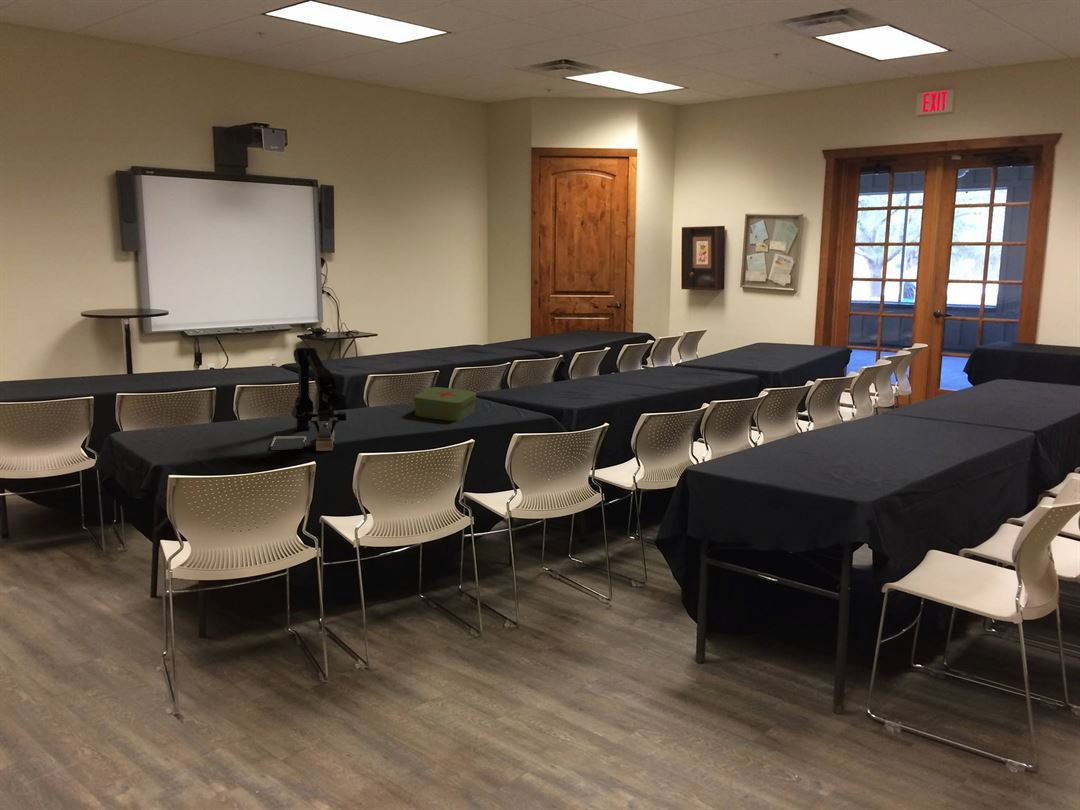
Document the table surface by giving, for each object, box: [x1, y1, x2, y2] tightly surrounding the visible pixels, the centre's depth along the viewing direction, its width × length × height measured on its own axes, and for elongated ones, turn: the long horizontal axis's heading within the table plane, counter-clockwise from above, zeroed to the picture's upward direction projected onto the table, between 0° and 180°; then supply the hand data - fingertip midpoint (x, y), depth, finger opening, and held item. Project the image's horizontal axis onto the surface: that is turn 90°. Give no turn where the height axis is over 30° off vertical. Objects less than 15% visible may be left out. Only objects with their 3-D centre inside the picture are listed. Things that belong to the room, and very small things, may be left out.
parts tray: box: [269, 435, 307, 447], centre depth 392 cm, size 16×14×2 cm
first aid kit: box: [413, 386, 477, 422], centre depth 454 cm, size 26×26×10 cm
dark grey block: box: [319, 422, 332, 438], centre depth 393 cm, size 7×5×5 cm
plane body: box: [315, 429, 336, 452], centre depth 394 cm, size 18×7×4 cm, turn 10°
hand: (325, 434), depth 394 cm, fingers closed on dark grey block, 5 cm apart
